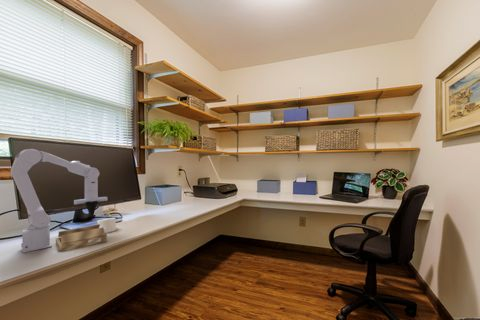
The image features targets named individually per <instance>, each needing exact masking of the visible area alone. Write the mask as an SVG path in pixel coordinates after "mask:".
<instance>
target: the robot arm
mask: <svg viewBox="0 0 480 320" xmlns="http://www.w3.org/2000/svg"><path fill="white" fill-rule="evenodd" d="M39 162H41V163H42V162H44V163H46V162H49V163H51V164H54V165H58V166H61V167H64V168H66V169H67V171H68V172H69V173H73V174H74V175H75V174H76V175H79V176H82V177H84V198H83V199H82V198H80V199H74V200H73V205H81V204H84V205H85V207H86V209H87V212H88V216H89V217H94V215H95V212H96V211H95V210H96V208H97V206H98V205H99V202H108V196H99V194H98V193H99V192H98V191H99V189H98V188H99V186H98V183H99V180H98V178H99V176H100V171H99V170H98V168H96V167H91V165H90V164H85V163H82V162H81V161H80V160H72V161H69V160H67V159H64V158H62V157H59V156H57V155H54V154H51V153H49V152H46V151H42V150H38V149H36V148H35V149H34V148H28V149H23V150H21V151H19V152H18V154H16V156H15V158H14V161H13V163H12V165H11V168H10V174H11V176H12V178H13V180H14V182H15V185H16V187H17V190H18V192H19V194H20V197H21V199H22V201H23V203H24V205H25V208H26V212H27V214H28V215H27V216H28V217H27V221H28V223H29V224H30V225H29V226H28V227H27V229H22V231H21V232H22V233H21V235H22V236H21V237H22V239H21V241H22V242H21V244H20V245H21V248H22V253H27V252H32V251H37V250H43V249H47V248H51V247H52V242H51V234H50V233H51V231H50V228H51V227H50V225H51V224H50V223H51V221H52V220H51V219H52V218H51V216H50V215H49V214H47V213H46V211H45V209H44V207H43V206H42V204H41V202H40V199H39V197H38V195H37V193H36V189H35V187H34V186H33V183H32V180H31V178H30V176H29V174H28V172H29V170H30V169H31V168H32V167H33V166H34V165H36V164H37V163H39Z"/></svg>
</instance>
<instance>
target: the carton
mask: <svg viewBox="0 0 480 320" xmlns="http://www.w3.org/2000/svg"><path fill="white" fill-rule="evenodd" d="M104 233H105V232H104ZM107 239H108V233H105V235H102V236H98V237H93V238H88V239H83V240H79V241H74V242H69V243H64V244H61V237H55V246H56V249H57V251H58V252H65V251H69V250H73V249H79V248H84V247H87V246H88V247H89V246H93V245H97V244H102V243H106V242H107V241H108V240H107Z"/></svg>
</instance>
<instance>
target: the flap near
mask: <svg viewBox="0 0 480 320" xmlns="http://www.w3.org/2000/svg"><path fill="white" fill-rule="evenodd" d="M102 235H105V233H104V228H103V227H102V228H97V229H92V230H86V231H81V232H76V233H70V234H65V235H61V244H67V243H71V242H75V241H79V240H83V239H88V238H93V237H98V236H102Z"/></svg>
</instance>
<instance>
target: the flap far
mask: <svg viewBox="0 0 480 320" xmlns="http://www.w3.org/2000/svg"><path fill="white" fill-rule="evenodd" d="M99 227H100V224H93V225H88V226H81V227H77V228H72V229H71V228H70V229H66V230H60V231H58V235H57V236H58V237H57V238H59V237H61V235H65V234H70V233H76V232H81V231H86V230H92V229H97V228H99Z"/></svg>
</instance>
